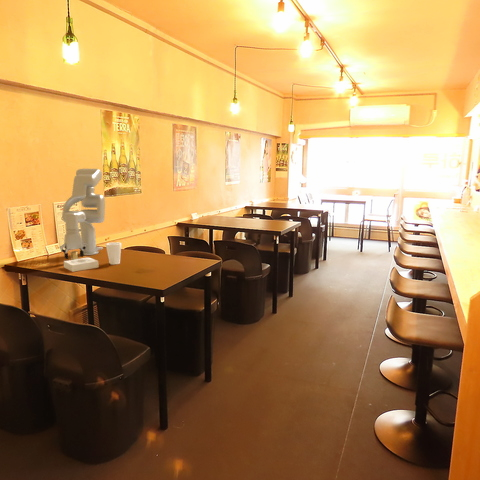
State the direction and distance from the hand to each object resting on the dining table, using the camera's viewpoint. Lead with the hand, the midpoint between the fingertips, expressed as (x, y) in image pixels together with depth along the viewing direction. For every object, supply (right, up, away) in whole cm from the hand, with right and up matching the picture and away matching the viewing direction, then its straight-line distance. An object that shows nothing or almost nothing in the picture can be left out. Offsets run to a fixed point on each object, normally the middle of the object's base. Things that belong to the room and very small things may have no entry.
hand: (74, 257), depth 263 cm
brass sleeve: (0, -3, +1) cm, 3 cm away
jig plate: (+9, -5, -12) cm, 16 cm away
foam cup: (+27, -4, -2) cm, 27 cm away
